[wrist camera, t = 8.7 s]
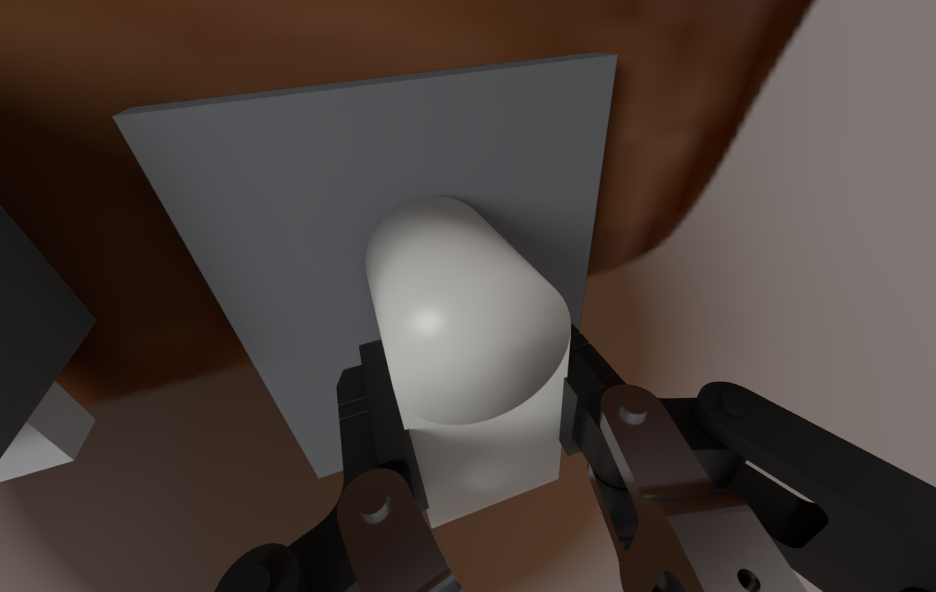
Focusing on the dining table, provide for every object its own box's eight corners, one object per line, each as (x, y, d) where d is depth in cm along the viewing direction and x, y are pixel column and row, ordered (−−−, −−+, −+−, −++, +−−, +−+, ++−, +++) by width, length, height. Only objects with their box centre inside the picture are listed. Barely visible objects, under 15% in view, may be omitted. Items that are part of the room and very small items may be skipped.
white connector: (349, 211, 9) (369, 303, 6) (489, 184, 10) (577, 250, 7) (411, 442, 14) (441, 563, 11) (501, 412, 15) (555, 515, 12)
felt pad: (131, 107, 8) (111, 116, 7) (594, 52, 10) (617, 54, 10) (318, 456, 16) (318, 478, 15) (558, 377, 18) (570, 393, 17)
